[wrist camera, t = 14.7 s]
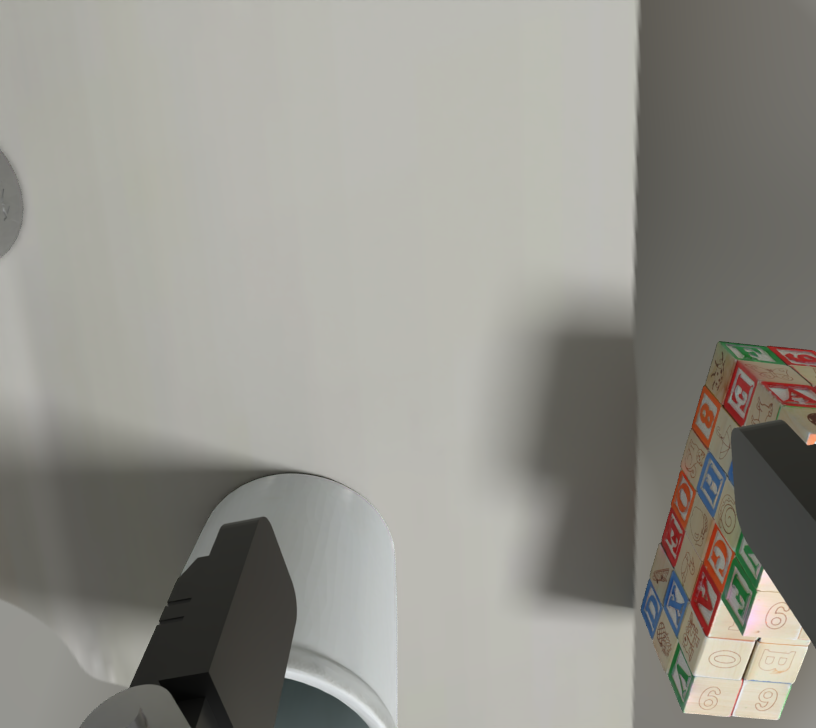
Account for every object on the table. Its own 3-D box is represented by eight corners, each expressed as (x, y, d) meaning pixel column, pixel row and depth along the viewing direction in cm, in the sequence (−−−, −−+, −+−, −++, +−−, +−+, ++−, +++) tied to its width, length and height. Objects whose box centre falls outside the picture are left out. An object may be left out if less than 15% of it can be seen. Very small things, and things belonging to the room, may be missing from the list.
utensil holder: (435, 498, 51) (443, 710, 35) (372, 655, 56) (353, 901, 40) (223, 437, 49) (127, 631, 33) (179, 606, 55) (80, 841, 39)
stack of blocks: (722, 616, 55) (801, 766, 43) (637, 609, 54) (695, 757, 43) (815, 347, 46) (943, 447, 35) (715, 337, 46) (812, 434, 35)
